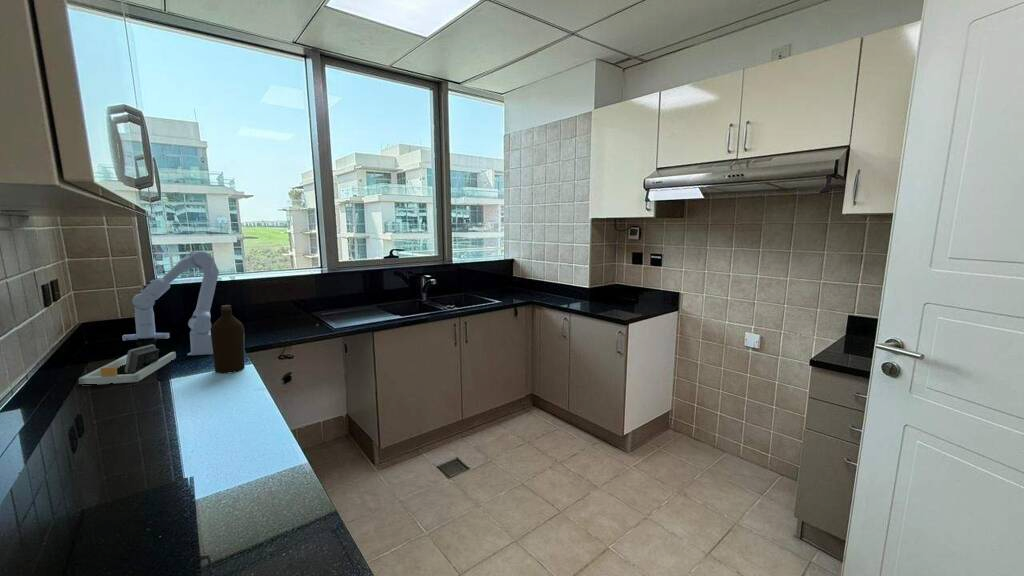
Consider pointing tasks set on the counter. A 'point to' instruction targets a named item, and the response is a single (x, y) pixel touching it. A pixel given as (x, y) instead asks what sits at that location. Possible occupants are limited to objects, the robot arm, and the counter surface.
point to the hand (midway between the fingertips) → (148, 356)
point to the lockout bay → (109, 374)
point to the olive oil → (227, 342)
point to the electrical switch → (140, 358)
